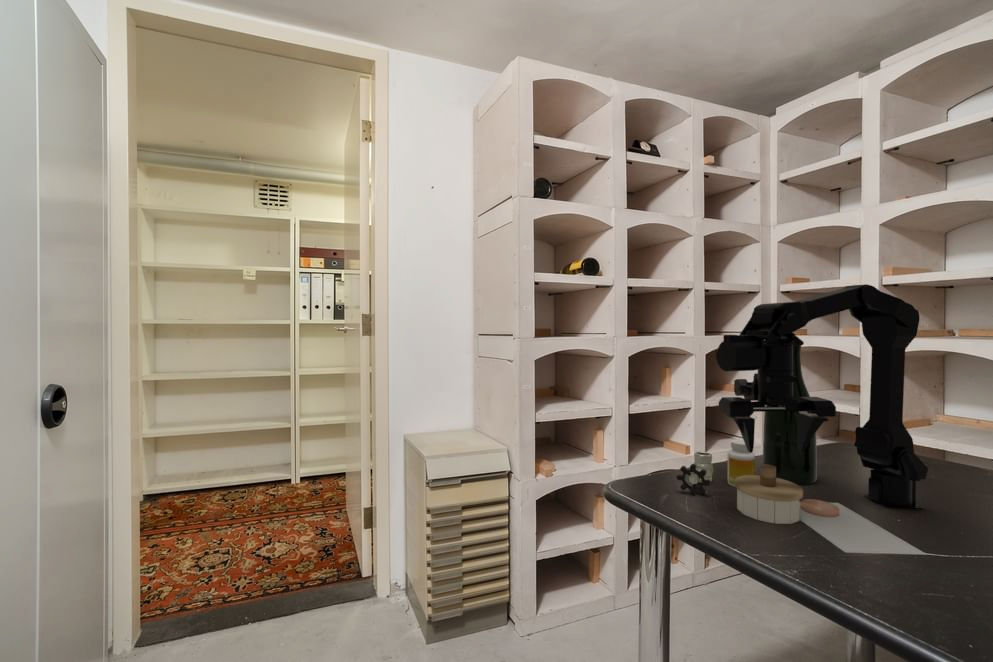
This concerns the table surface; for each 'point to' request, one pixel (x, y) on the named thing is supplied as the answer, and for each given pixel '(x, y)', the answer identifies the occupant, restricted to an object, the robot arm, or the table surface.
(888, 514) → the table surface
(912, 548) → the mat
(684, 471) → the valve
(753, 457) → the supplement bottle
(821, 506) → the pink glossy dome
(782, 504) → the bowl
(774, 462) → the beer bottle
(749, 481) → the lid
